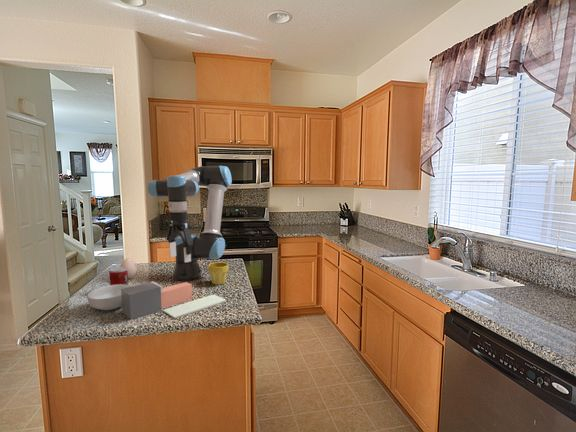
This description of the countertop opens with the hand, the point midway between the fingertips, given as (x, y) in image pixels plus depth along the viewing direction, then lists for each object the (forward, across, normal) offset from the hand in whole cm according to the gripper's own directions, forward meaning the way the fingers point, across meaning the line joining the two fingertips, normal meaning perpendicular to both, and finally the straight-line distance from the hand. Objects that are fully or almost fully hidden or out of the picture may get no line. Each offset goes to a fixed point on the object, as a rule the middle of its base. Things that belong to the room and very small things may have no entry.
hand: (180, 259), depth 137 cm
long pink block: (+19, 0, -6) cm, 20 cm away
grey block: (+19, 0, -17) cm, 25 cm away
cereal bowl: (+19, -15, -24) cm, 34 cm away
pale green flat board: (+19, +11, +1) cm, 22 cm away
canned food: (+19, -33, -16) cm, 41 cm away
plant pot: (+19, -8, +25) cm, 32 cm away
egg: (+19, -50, -6) cm, 54 cm away
